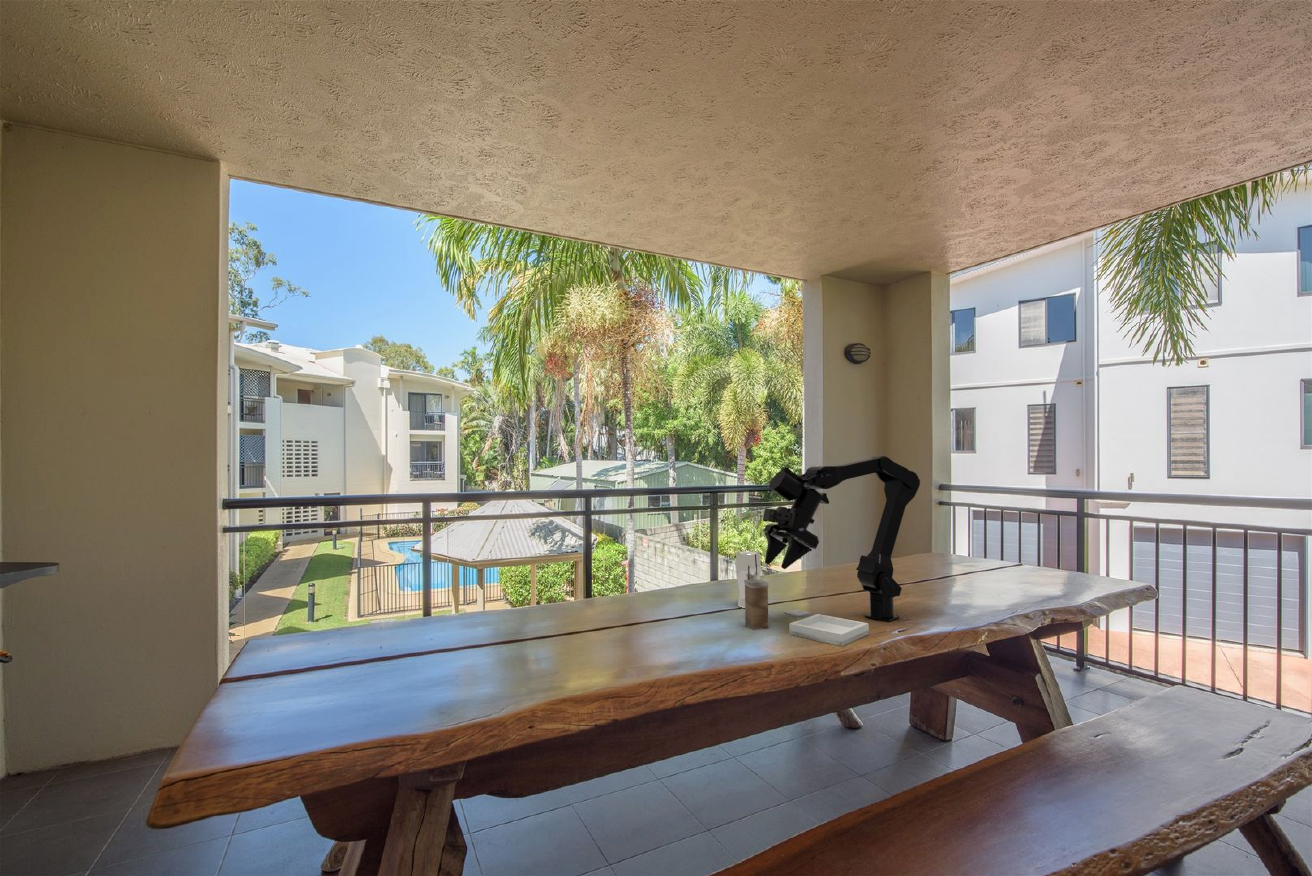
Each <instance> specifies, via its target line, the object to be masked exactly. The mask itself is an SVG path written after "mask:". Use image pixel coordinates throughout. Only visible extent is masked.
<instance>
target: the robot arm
mask: <svg viewBox="0 0 1312 876" xmlns="http://www.w3.org/2000/svg"><path fill="white" fill-rule="evenodd" d="M871 474H875V475H876V476H877V478H878V480H880V481H881V482H882V483H884V488H883V491H884V495H885V500H886V501H885V504H884V508H883V512H882V514H881V518H880V522H879V524H878V528H877V531H876V535H875V538H874V542H873V545H872V548H871V551H870V552H869V553H868V554H867V555H861V556H860V557H859V562H858V565H857V567H856V571H857V573H856V575H857V579H858V582H860V584H861V586H862V589H863V592H868V593H869V613H867V614H865V615H864V618H868V619H873V620H878V621H884V622H885V621H886V622H891V621H894V620H896V619H898V618H900V615H899V614H895V607H894V598H896V597H899V596H901V593H902V587H901V585H900V584H898V582H897V581H896V580H895V579H894V578H893V575H894V565H893V561H892V556H893V551H894V548H895V545H896V541H897V538H898V534H899V531H900V527H901V525H902V520H903V517H904V514H905V511H906V510H905V509H906V507H907V505H908V504H909V503H910V502H911V501H913V499H914V498H915V497H916V496H917V493H918V490H919V488H920V484H921V479H920V478H919V476H918V474H917V473H916V472H914V471H912V470H909V469H908V468H907V467H905V466H903V465H901V464H898V463H897V462H894V461H893V460H892V459H890V458H889V457H888V456H885V455H881V456H880V455H879V456H878V455H877V456H872V457H869V458H867V459H862V460H857V461H853V462H849V463H844V464H838V465H829V466H827V465H825V466H810V467H808V468H807V469H806V471H805V472H804V473H802V474H801V475H797V474H796V473H794V472H793V471H792V470H791V468H788V467H787V466H786V467H782V468H781V469H780V471H778V472H777V473H776V474H775V475H773V477H771V479H770V482H769V485H768V487H769V490H771V491H772V492H773V493H775V494H777V495H778V496H779V497H781V498H783V499H785V500H786V501H787V502H790V501H792V500H793V503H792V505H791V507H786V506H782V505H781V506H778V507H777V508H776V509H774V508H764V510H763V516H762V521H763V522H769V523H768V524H766V525H765V527H764V528H763V530H762V531H763V533H764V536H765V537H766V540H767V545H766V546H767V548H766V554H765V558H764V563H765V564H766V565H770V564H771V563H772V562H773V561H774V560H775V559H776V558H777V557H778V555H780V554H781V552H783V551H784V549H786V548H787V549H786V550H785V551H786V552H785V554H784V557H783V559H782V563H781V566H780V568H781V569H783V570H786V569H788V568H789V567H790V566H791V565H793V564H794V563H795V562H797V561H798V560H799V559H801V558H802V557H804V556H805V555H807V554H808V553H809V552H812V550H816V549H817V548H818V545H819V544H820V540H819V537H818V536H817V535H816V534H814V533H812V532H811V531H809V530H808V528H809V525H810V524H812V525H813V524H814V523H815V519H813V518H814V515H815V514H816V511H817V510H818V508H819V506H820V504H825V505H829V504H830V501H829V498H828V493H826V492H819V491H818V490H829V489H831V488H834V487H836V486H838V485H840V484H841V483H843V482H844V481H847V480H850V479H854V478H855V479H856V478H859V477H863V476H867V475H871ZM808 487H809V488H808ZM770 522H771V523H770Z"/></svg>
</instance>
